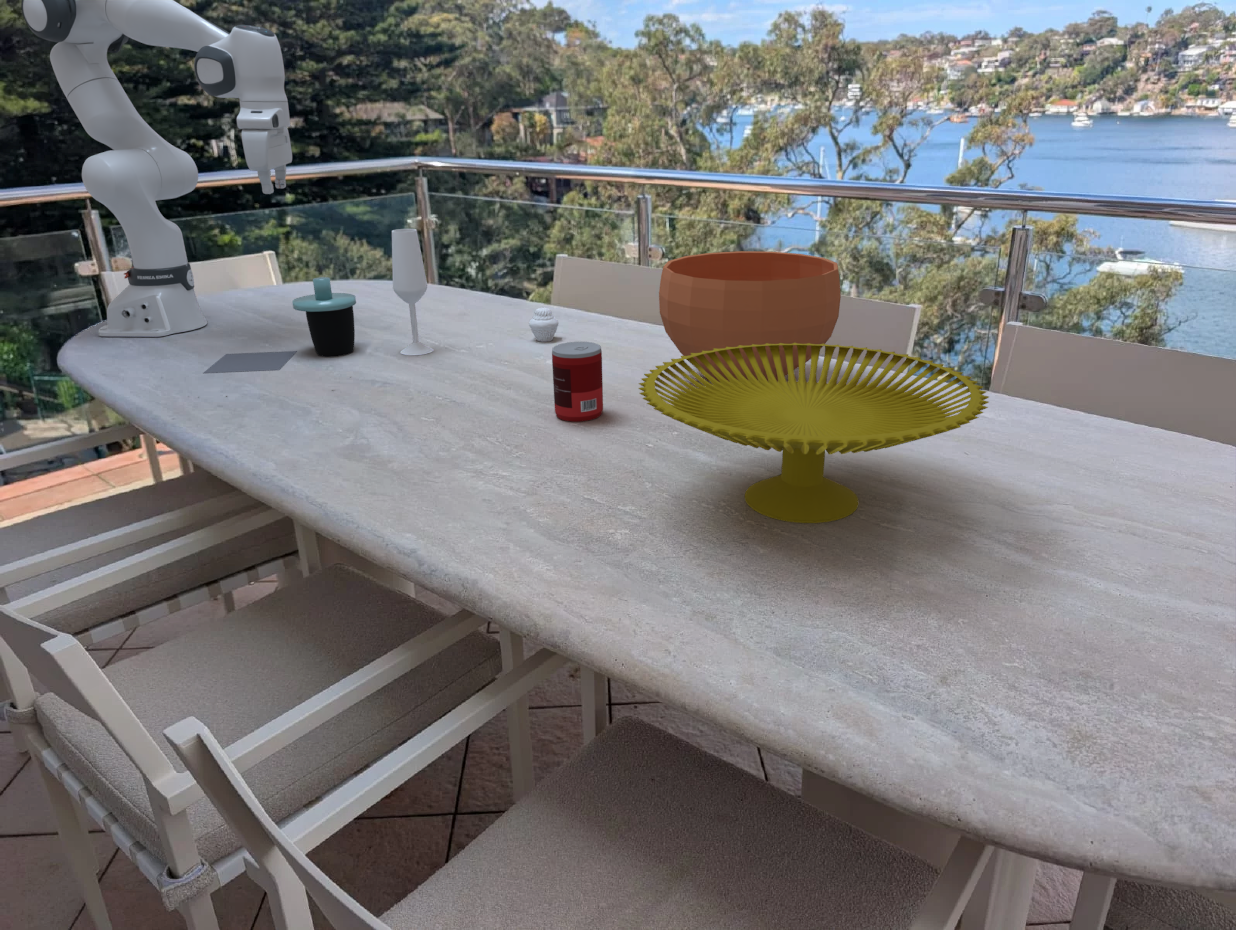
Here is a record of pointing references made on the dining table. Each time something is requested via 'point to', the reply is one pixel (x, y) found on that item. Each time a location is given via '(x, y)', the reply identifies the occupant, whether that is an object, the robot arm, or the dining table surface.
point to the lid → (323, 298)
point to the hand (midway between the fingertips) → (274, 190)
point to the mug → (332, 331)
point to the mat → (251, 362)
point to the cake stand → (810, 417)
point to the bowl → (749, 304)
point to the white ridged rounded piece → (543, 324)
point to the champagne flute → (409, 280)
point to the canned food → (577, 381)
